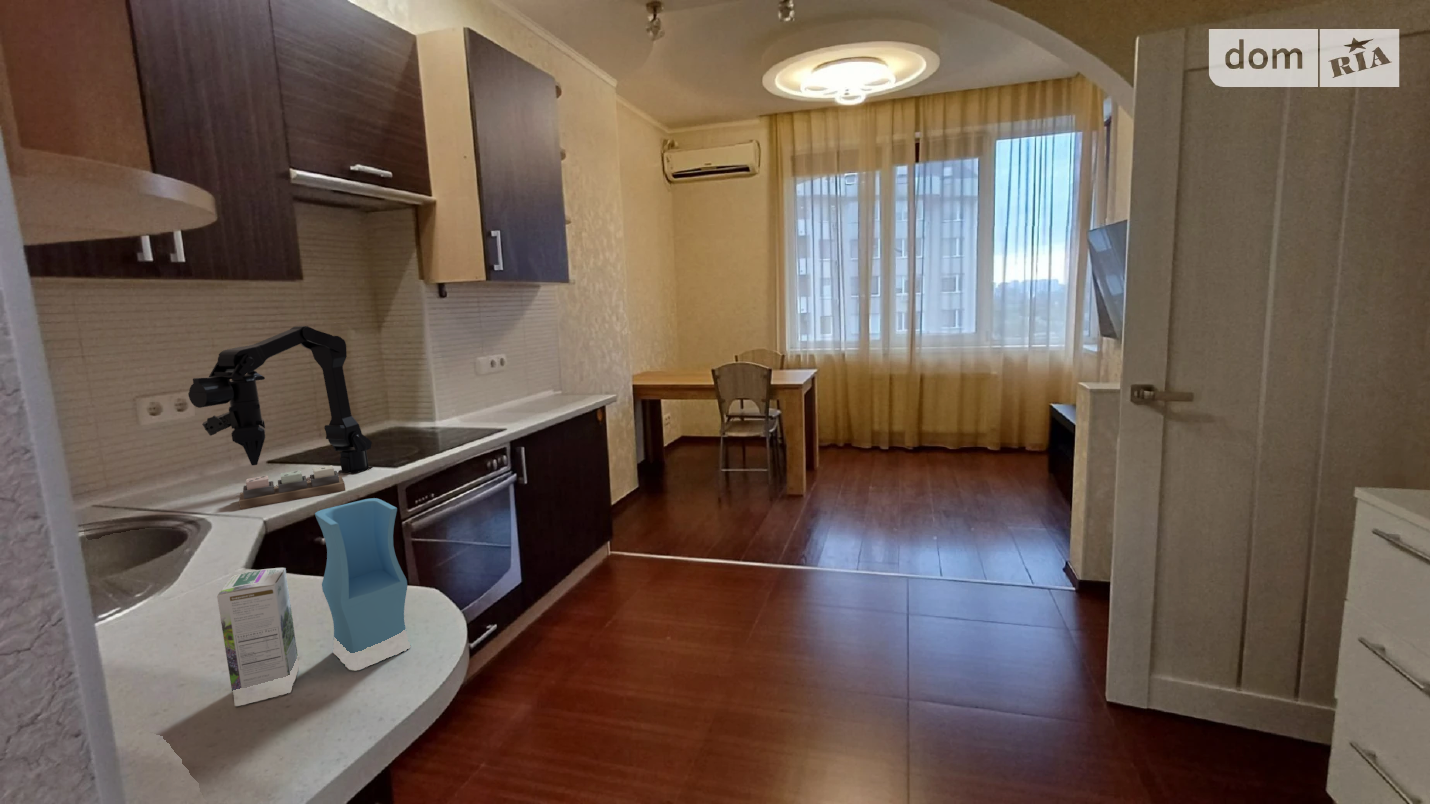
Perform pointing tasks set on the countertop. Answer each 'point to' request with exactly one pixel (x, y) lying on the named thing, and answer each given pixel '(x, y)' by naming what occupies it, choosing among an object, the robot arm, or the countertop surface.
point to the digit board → (290, 491)
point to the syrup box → (257, 627)
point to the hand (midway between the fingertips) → (254, 462)
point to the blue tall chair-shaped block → (362, 573)
